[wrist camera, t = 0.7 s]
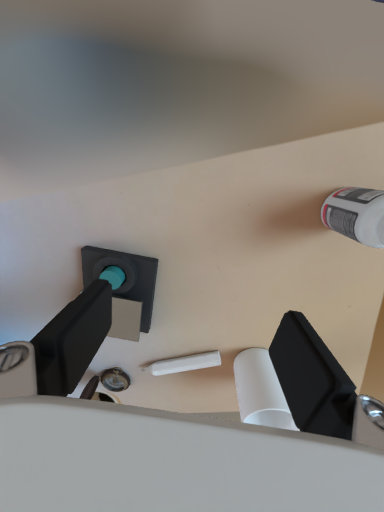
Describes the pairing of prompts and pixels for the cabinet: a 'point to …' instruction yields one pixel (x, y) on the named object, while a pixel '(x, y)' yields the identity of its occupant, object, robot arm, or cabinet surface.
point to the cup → (260, 391)
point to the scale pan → (125, 318)
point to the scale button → (113, 276)
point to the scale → (136, 276)
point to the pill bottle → (356, 214)
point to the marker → (185, 363)
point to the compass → (107, 383)
